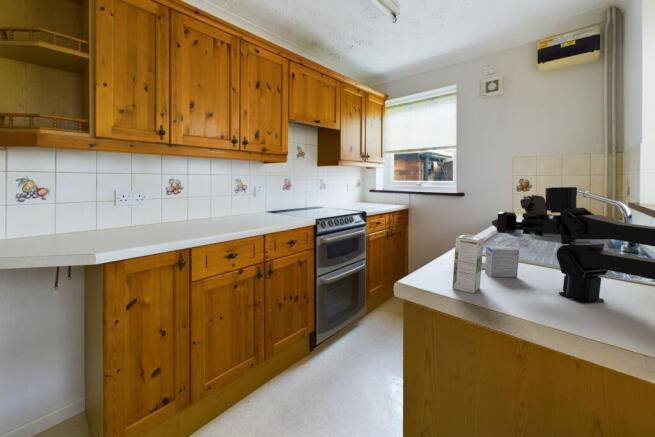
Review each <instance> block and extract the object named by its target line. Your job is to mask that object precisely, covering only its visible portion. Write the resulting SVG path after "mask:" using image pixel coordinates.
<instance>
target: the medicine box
mask: <svg viewBox="0 0 655 437" xmlns="http://www.w3.org/2000/svg"><path fill="white" fill-rule="evenodd" d="M519 257H520V249H518V248H515V247H513V246H486V248H485V261H484V263H485V270H484V272H485V273H484V274H486V275H487V276H489V277H491V278H494V277H495V278H496V277H497V278H501V277H502V278H518V270H519V259H520V258H519Z"/></svg>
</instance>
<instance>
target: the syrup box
mask: <svg viewBox="0 0 655 437" xmlns="http://www.w3.org/2000/svg"><path fill="white" fill-rule="evenodd" d="M484 240H485V238H484V237H483V236H478V235H473V234H462V235H460V236H459V235H458V236H457V237H456V238H455V246H454V259H453V273H452V275H453V276H452V289H453V290H455V291H461V292H464V293H471V294H475V293H476V292H477V291H478V290H479V289H480V287H481V277H482V276H481V275H482V270H481V266H482V263H483V251H484Z"/></svg>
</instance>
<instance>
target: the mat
mask: <svg viewBox="0 0 655 437" xmlns="http://www.w3.org/2000/svg"><path fill="white" fill-rule="evenodd" d="M482 270H483V271H485V262H482V266H481V271H482Z"/></svg>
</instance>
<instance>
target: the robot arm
mask: <svg viewBox="0 0 655 437" xmlns="http://www.w3.org/2000/svg"><path fill="white" fill-rule="evenodd" d="M577 193H578V187H577V186H564V187H563V186H559V187H558V186H557V187H556V186H555V187H554V186H552V187H545V197H544V196H543V195H534V194H531V195H527V196H523V197H522V198H521V199H520V202H519V203H520V206H521V209H523V210H524V212H523V213H522V216H521V217H522V218H521V221H517V215H516V213H515V212H511V211H499V212H498V214H497V219H494V220H492V221H491V225H492V226H493V227H495V228H496V232H497V233H498V234H506V235H507V234H509V235H514V234H515V232H516V231H522V234H523V235H530V236H539V237H546V238H554V237H559V238H560V241H561V242H560V243H561V245H560V247H558V248H557V250H556V254H555V255H556V259H557V262H558V265H559V269H560V272H561V274H562V275H564V276H563V286H562V291H559V292H558V295H561V296H562V297H566V298H567V299H570V300H573V301H575V302H578V303H580V304H584V305H585V304H593V303H595V304H596V303H602V302H605V299H604V298H600V293H601V284H602V276H606V275H607V273H608V272H609V271H610V272H615V273H620V274H625V275H631V276H636V277H641V278H645V279H651V280H654V281H655V258H650V257H643V256H636V255H630V254H624V253H623V254H622V253H616V252H611V251H608V250H606V249H604V247H605V243H600V242H599V243H597V242H596V243H594V242H591V241H589V240H611V241H612V240H613V241H620V242H621V241H622V242H627V243H631V244H637V245H643V246H649V247H655V226H651V225H642V224H636V223H635V224H634V223H626V222H623V221H619V220H618V219H615V218H612V217H608V216H605V215H601V214H595V213H593V212H592V211H590V210H588V208H585V207H577V206H578V205H577ZM548 212H550V213H551V214H550V213H548ZM554 213H556V214H554ZM558 213H559V214H558ZM577 240H584V241H577Z"/></svg>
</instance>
